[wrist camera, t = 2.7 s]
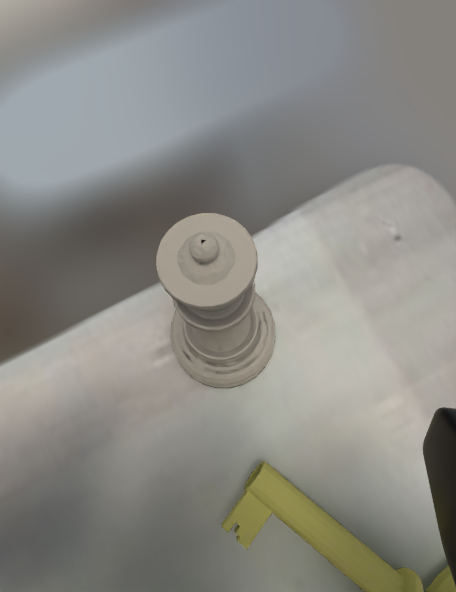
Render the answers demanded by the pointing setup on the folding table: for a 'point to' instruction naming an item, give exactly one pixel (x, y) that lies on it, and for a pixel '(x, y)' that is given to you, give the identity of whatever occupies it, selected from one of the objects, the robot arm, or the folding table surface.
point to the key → (320, 534)
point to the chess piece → (215, 300)
